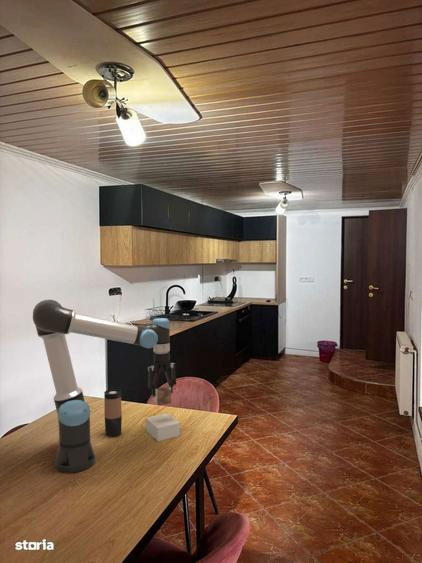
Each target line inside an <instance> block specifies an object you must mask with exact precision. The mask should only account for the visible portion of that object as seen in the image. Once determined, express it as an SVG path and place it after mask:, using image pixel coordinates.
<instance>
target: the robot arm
mask: <svg viewBox="0 0 422 563" xmlns="http://www.w3.org/2000/svg"><path fill="white" fill-rule="evenodd" d="M32 320H33V321H32V322H33V324H34V325H35V329H36V332H37V336H38V337H40V338H41V339H42V341H43V344H44V349H45V353H46V357H47V361H48V365H49V369H50V372H51V373H50V374H51V376H52V381H53V384H54V389H55V392H56V393H55V395H54V396H53V402H54V406H55V409H56V410H55V411H56V414H57V422H58V442H59V443H58V444H59V445H58V449H57V453H56V457H55V458H54V468H55V470H56V471H57V472H59V473H65V474H72V473H78V472H83V471H86V470H87V469H89V468H91V467H92V466H93V465H94V464H95V463H96V453H95V450H94V448H93V445H92V442H91V417H90V416H91V409H90V405H89V403H88V402H86V401H85V396H84V393H83V388H80V387H78V383H77V381H76V375H75V371H74V367H73V363H72V359H71V355H70V350H69V345H68V342H67V337H66V335H69V334H71V333H73V334H78V335H83V336H89V337H92V338H93V337H94V338H98V339H99V338H100V339H105V340H108V341H109V340H110V341H114V342H120V343H127V344H131V345H135V346H141V347H143V348H146V349H152V348H153V349H152V350H153V364H152V365H151V366H147V367H146V368H147V371H148V373H147V388H148V389H149V390H151V396H152V397H153V403H154V404H156V405H158V394H157V385H158V382H159V378H160V375H161V373H164V375H165V378H166V382H167V384H168V385H167V386H166V387H167V388H168V389H170V390H171V394H173V391H174V390H173V388H174V387H175V386H176V385H177V376H176V375H177V374H176V373H177V372H176V368H177V364H176V363H174V362H171V361H170V360H171V353H170V351H171V346H170V345H171V344H170V342H171V341H170V340H171V339H170V337H171V336H170V335H171V334H170V333H171V332H170V330H171V328H170V327H171V326H170V320H169V319H168V318H165V317H161V318H159V317H158V318H154V319H153V320H152V323H145V324H142V323H141V324H140V323H139V324H127V323H122V322H117V321H113V320H107V319H103V318H100V317H94V316H90V315H85V314H80V313H76V312H75V310H74V309H69V308H66V307H63V306H62V305H61V303H59V302H58V301H57V300H53V299H43V300H42V301H39V302H38V303H37V304H35V306H34V308H33V310H32ZM169 369H170V370H169ZM154 370H155V371H154ZM153 371H154V372H153ZM170 371H171V372H170ZM170 373H171V375H170ZM153 375H154V376H153Z"/></svg>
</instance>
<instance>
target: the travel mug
mask: <svg viewBox="0 0 422 563" xmlns="http://www.w3.org/2000/svg"><path fill="white" fill-rule="evenodd" d="M103 394H104V396H103V397H104V398H103V399H104V402H103V403H104V426H105V427H104V430H105V431H104V432H105V433H104V434H105V436H106V437H108V438H116V437H119V436H121V435H122V422H123V421H122V419H123V418H122V413H123V412H122V390H121V389H119V388H117V389H116V388H110V389H106V390H105V391H104V392H103Z"/></svg>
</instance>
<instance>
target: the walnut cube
mask: <svg viewBox="0 0 422 563" xmlns="http://www.w3.org/2000/svg"><path fill="white" fill-rule="evenodd" d="M156 389H157V394H158V404H157V406H165V405H169V404H172V393H171V390H170V389H168V388H167V386H164V387H156Z"/></svg>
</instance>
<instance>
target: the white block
mask: <svg viewBox="0 0 422 563" xmlns="http://www.w3.org/2000/svg"><path fill="white" fill-rule="evenodd" d="M145 430H146V432H148V434H149V435H150V436H152V437H153V439H154V440H156V442H162V441H166V440H169V439H174V438H177V437H180V436H181V422H180V421H178V420H176V419H175V418H174V417H173V416H172V415H170V414H169V413H163V414H158V415H153V416H148V417H145Z"/></svg>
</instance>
